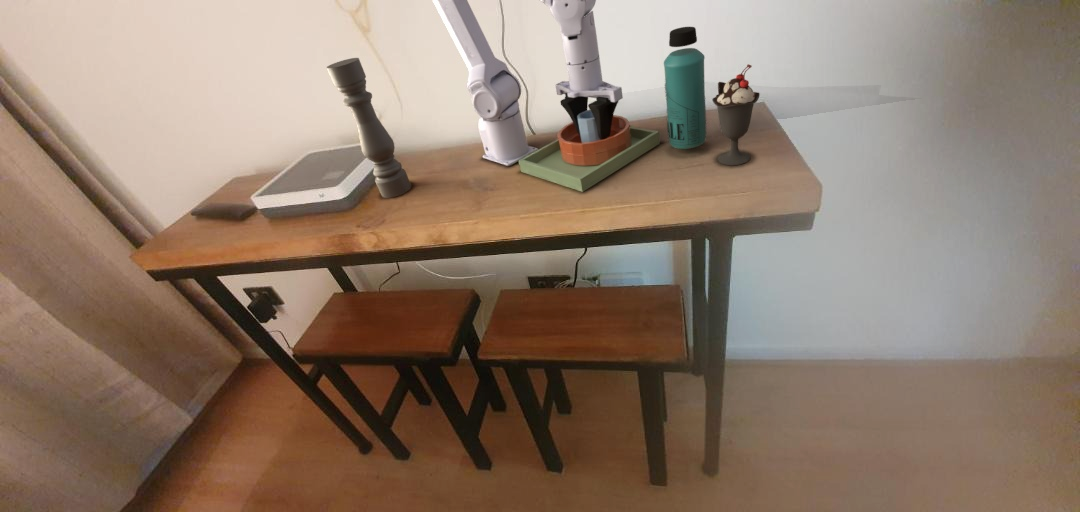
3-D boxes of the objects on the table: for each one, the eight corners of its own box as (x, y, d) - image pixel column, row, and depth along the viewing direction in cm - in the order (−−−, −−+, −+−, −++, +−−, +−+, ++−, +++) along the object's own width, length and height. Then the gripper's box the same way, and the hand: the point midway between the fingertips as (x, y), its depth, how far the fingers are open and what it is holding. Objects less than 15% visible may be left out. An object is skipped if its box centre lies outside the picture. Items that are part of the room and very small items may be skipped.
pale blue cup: (576, 145, 90) (571, 117, 87) (595, 135, 93) (590, 107, 90) (595, 150, 87) (590, 121, 84) (614, 139, 89) (610, 110, 86)
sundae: (760, 165, 75) (765, 67, 66) (714, 169, 77) (714, 74, 68) (753, 148, 80) (757, 54, 72) (710, 152, 82) (710, 61, 73)
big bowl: (548, 161, 93) (543, 137, 90) (595, 135, 99) (592, 111, 96) (598, 175, 84) (593, 148, 81) (646, 145, 89) (644, 119, 87)
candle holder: (384, 201, 94) (326, 70, 80) (378, 190, 99) (323, 66, 85) (414, 189, 95) (363, 59, 81) (407, 179, 100) (357, 55, 86)
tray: (521, 171, 92) (518, 160, 90) (594, 130, 101) (593, 119, 99) (582, 192, 80) (580, 179, 78) (659, 143, 89) (659, 131, 88)
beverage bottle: (711, 142, 85) (711, 20, 74) (700, 158, 81) (697, 32, 70) (675, 140, 88) (669, 24, 77) (662, 156, 84) (654, 36, 73)
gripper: (537, 65, 85) (552, 137, 92) (597, 69, 75) (608, 150, 82) (566, 53, 88) (578, 123, 96) (627, 55, 78) (635, 134, 85)
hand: (594, 135), depth 89 cm, fingers closed on pale blue cup, 5 cm apart
